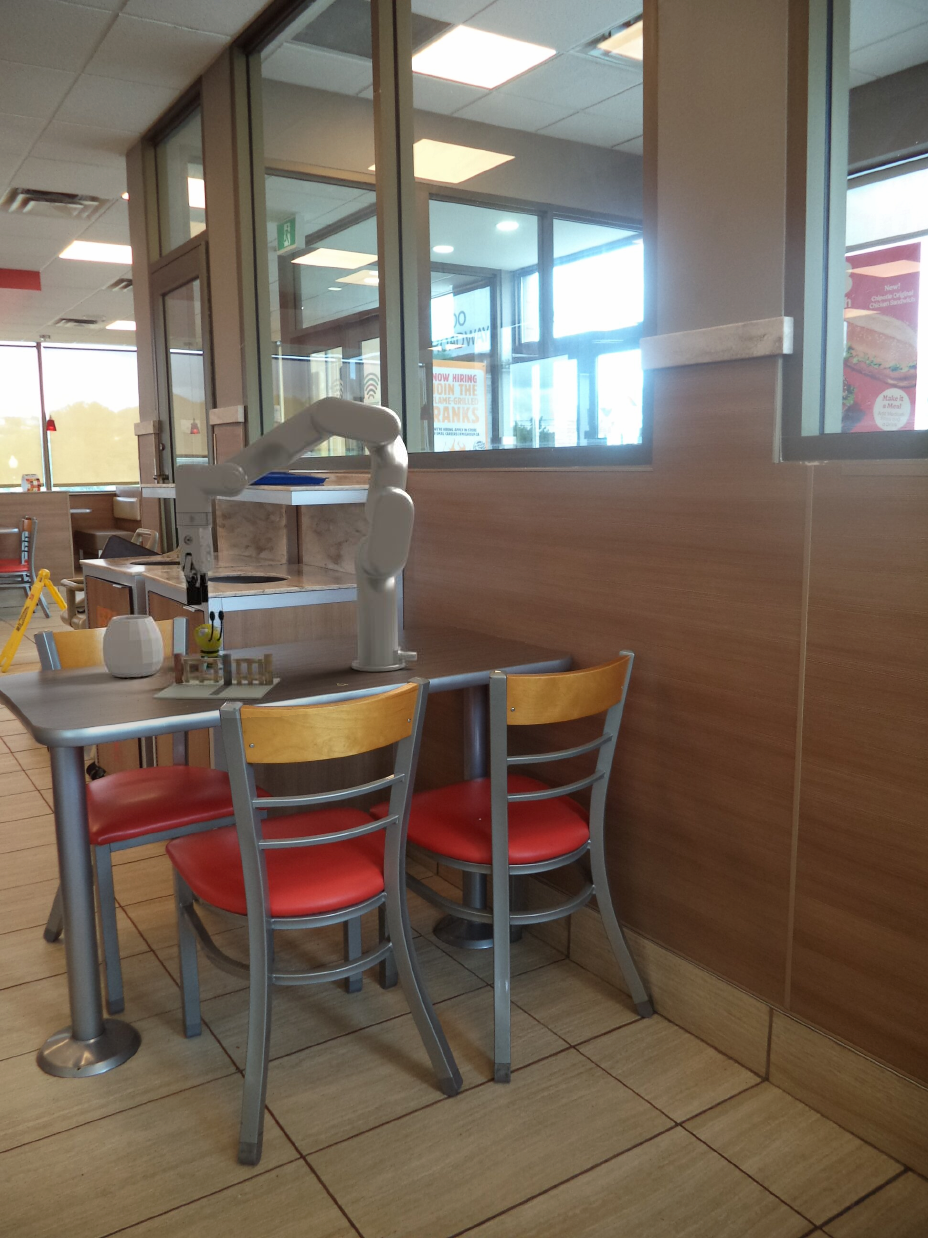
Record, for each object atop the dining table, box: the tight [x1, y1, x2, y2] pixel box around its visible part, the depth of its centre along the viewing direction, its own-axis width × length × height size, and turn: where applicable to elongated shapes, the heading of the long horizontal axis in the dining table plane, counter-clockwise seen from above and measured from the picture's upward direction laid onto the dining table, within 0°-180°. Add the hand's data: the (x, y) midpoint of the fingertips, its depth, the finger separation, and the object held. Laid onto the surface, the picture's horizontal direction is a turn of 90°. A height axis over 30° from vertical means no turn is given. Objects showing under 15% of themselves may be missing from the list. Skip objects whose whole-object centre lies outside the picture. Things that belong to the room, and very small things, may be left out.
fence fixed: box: [221, 653, 274, 685], centre depth 208 cm, size 11×2×7 cm, turn 88°
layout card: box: [152, 677, 281, 700], centre depth 206 cm, size 22×19×1 cm
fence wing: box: [173, 652, 223, 684], centre depth 209 cm, size 10×2×6 cm, turn 88°
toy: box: [193, 609, 225, 672], centre depth 230 cm, size 6×14×15 cm
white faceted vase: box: [102, 614, 165, 678], centre depth 221 cm, size 13×13×14 cm
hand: (197, 602), depth 214 cm, fingers open, 4 cm apart
